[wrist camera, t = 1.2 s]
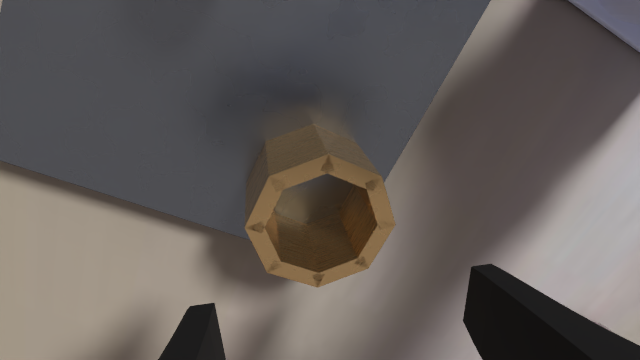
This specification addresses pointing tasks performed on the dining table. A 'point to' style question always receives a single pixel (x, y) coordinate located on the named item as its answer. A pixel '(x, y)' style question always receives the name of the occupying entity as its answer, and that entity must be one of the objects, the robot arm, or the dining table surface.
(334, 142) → the wooden octagonal tube
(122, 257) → the dining table surface
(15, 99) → the plate
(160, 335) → the dining table surface
